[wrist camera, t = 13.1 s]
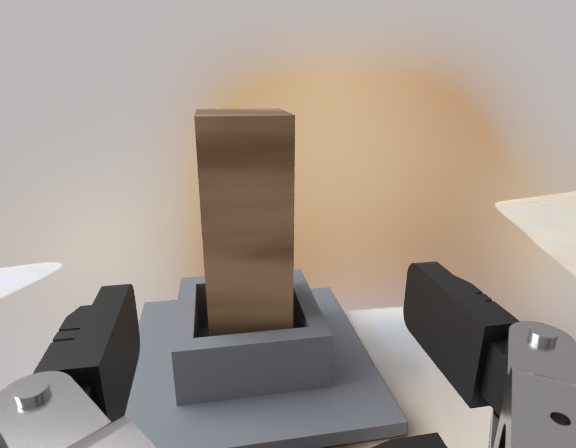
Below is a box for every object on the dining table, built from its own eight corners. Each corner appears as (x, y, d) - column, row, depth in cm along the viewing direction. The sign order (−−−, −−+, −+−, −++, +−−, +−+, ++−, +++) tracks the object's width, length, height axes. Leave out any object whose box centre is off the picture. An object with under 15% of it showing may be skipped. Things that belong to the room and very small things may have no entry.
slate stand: (145, 312, 31) (139, 262, 30) (329, 296, 34) (331, 250, 32) (101, 480, 18) (87, 405, 17) (406, 435, 21) (414, 366, 19)
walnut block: (211, 333, 27) (196, 109, 23) (279, 326, 28) (279, 108, 23) (211, 379, 23) (194, 116, 19) (292, 369, 24) (294, 115, 19)
